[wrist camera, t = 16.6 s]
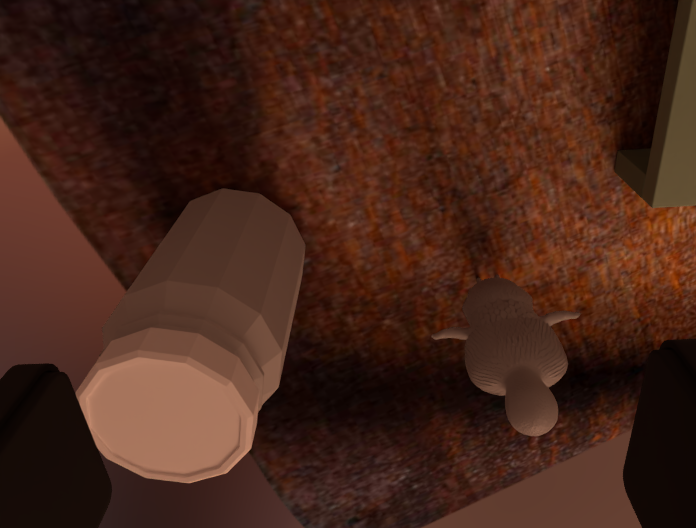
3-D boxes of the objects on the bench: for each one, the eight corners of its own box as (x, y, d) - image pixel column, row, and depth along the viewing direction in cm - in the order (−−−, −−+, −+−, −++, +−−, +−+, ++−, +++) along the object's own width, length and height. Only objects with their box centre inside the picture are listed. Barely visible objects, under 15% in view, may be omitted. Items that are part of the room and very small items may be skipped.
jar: (245, 154, 39) (160, 300, 23) (334, 257, 43) (312, 442, 27) (146, 231, 42) (13, 405, 27) (237, 320, 46) (167, 520, 30)
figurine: (428, 311, 45) (451, 466, 32) (420, 267, 43) (441, 413, 30) (553, 291, 43) (631, 444, 30) (551, 245, 42) (633, 387, 29)
